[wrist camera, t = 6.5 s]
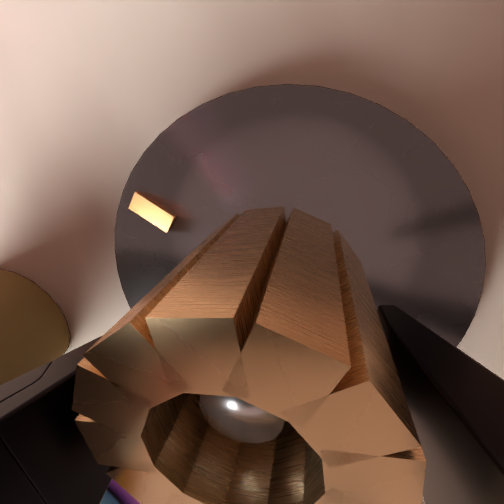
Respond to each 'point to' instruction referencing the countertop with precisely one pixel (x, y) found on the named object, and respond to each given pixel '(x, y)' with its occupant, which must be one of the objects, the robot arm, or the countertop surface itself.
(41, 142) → the countertop surface
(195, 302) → the tan hollow faceted cylinder
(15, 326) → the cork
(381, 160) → the disc
